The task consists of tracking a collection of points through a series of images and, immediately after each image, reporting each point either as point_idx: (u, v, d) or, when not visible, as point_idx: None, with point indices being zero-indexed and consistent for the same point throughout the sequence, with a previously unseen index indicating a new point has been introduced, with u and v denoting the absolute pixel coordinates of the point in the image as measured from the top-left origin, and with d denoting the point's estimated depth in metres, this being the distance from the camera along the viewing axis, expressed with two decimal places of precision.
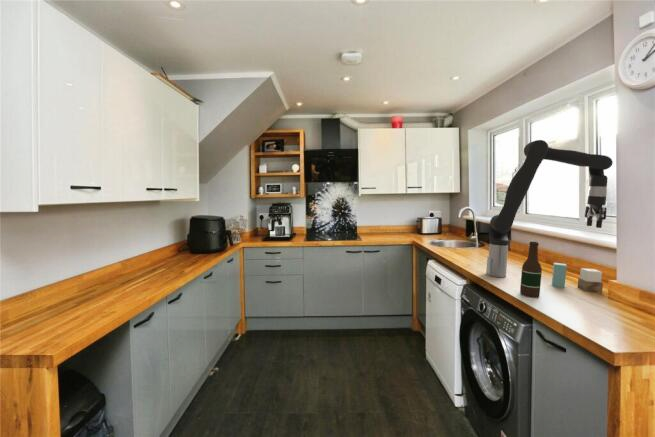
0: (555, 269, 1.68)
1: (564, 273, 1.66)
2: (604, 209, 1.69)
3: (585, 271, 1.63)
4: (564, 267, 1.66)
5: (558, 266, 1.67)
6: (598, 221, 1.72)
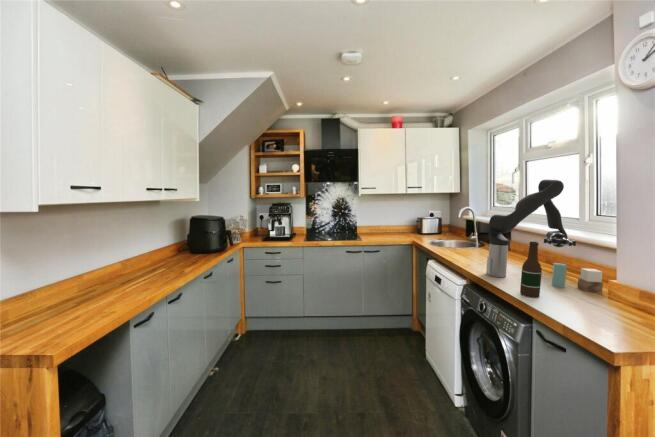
0: (555, 269, 1.68)
1: (564, 273, 1.66)
2: None
3: (586, 271, 1.63)
4: (564, 267, 1.66)
5: (558, 266, 1.67)
6: (571, 242, 1.78)
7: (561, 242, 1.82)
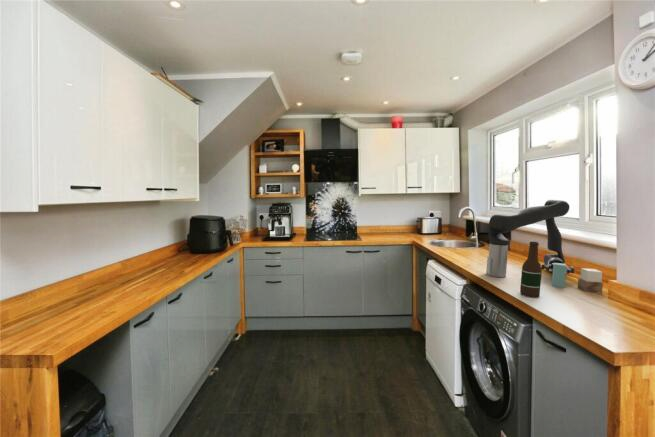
0: (555, 269, 1.68)
1: (564, 273, 1.66)
2: None
3: (585, 271, 1.63)
4: (564, 267, 1.66)
5: (558, 266, 1.67)
6: (569, 269, 1.75)
7: None
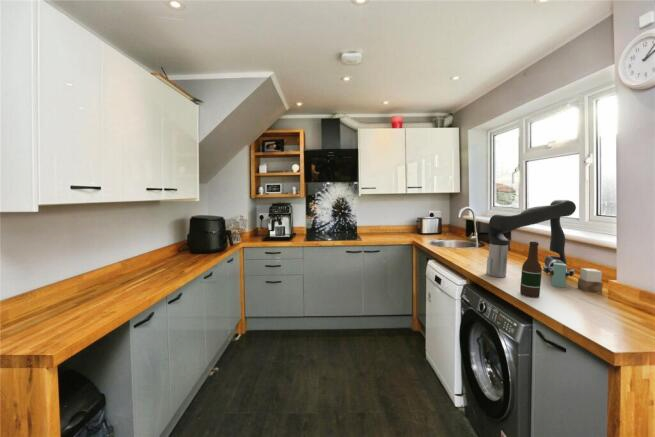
0: (555, 269, 1.68)
1: (564, 273, 1.66)
2: None
3: (585, 271, 1.63)
4: (564, 267, 1.66)
5: (558, 266, 1.67)
6: (567, 272, 1.68)
7: None
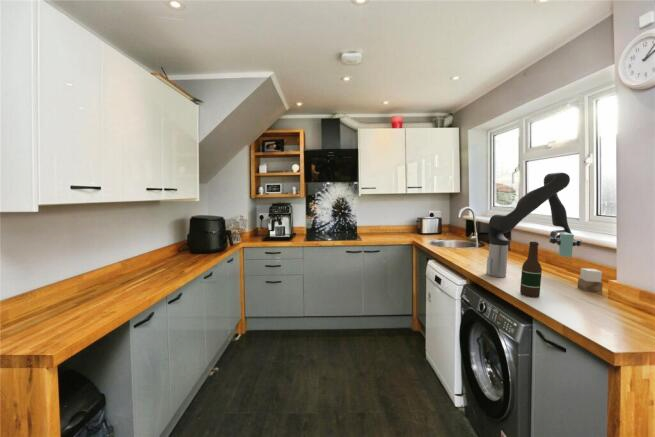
0: (562, 239, 1.66)
1: (571, 242, 1.64)
2: None
3: (585, 271, 1.63)
4: (571, 236, 1.64)
5: (565, 236, 1.65)
6: (574, 241, 1.66)
7: None
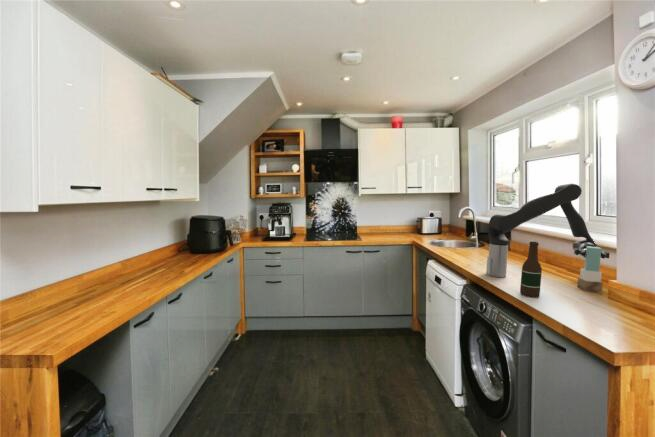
0: (589, 252, 1.61)
1: (599, 256, 1.59)
2: None
3: (585, 271, 1.63)
4: (599, 250, 1.59)
5: (592, 249, 1.61)
6: (604, 254, 1.61)
7: None
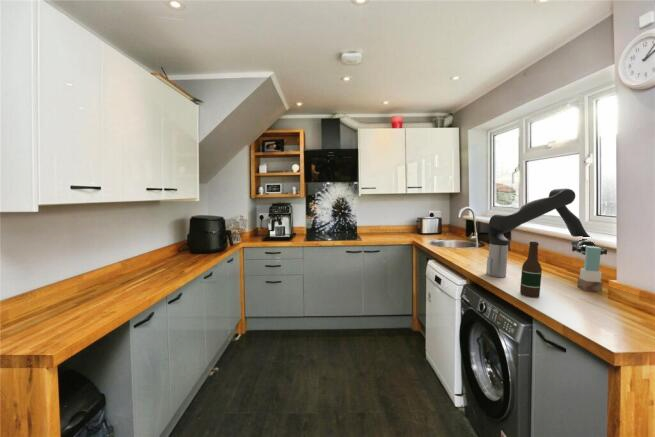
0: (588, 252, 1.61)
1: (598, 256, 1.59)
2: None
3: (585, 271, 1.63)
4: (598, 250, 1.59)
5: (592, 249, 1.61)
6: (602, 250, 1.70)
7: None
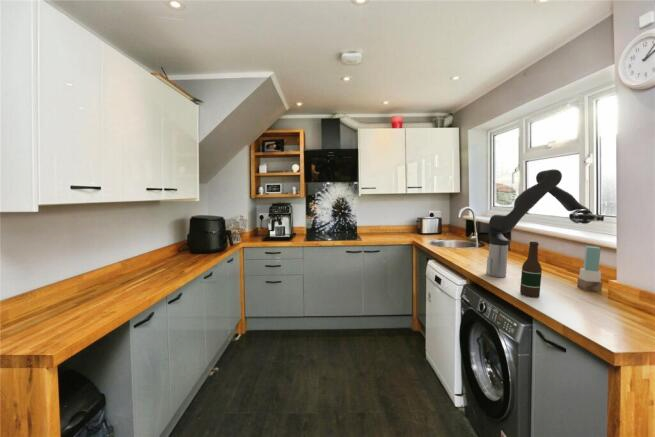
0: (588, 252, 1.61)
1: (598, 256, 1.60)
2: None
3: (584, 271, 1.63)
4: (598, 250, 1.60)
5: (591, 249, 1.61)
6: (599, 216, 1.73)
7: (588, 217, 1.77)
